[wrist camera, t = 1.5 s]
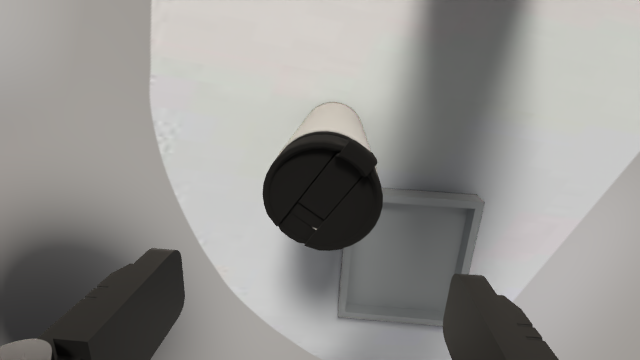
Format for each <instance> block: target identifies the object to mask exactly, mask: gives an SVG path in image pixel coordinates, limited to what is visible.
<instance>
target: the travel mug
mask: <svg viewBox="0 0 640 360" xmlns="http://www.w3.org/2000/svg"><path fill="white" fill-rule="evenodd" d="M376 164H377V159H376V158H375V156H374V155H373V153H372V152H371V150H370V147H369V144H368V141H367V138H366V135H365V132H364V129H363V126H362V123H361V121H360V118H359V117H358V115H357V114H356V112H355V111H354V110H353V109H351V108H350V107H348V106H347V105H344V104H342V103H337V102H328V103H324V104H322V105H319V106H317V107H316V108H315V109H313V110H312V111H311V113H310V114H309V115H308V116H307V117H306V119H305V120H304V121H303V123H302V124H301V125H300V127H299V128H298V129H297V131H296V132H295V133H294V134H293V136H292V137H291V138H290V140H289V141H288V142H287V144H286V145H285V146H284V148H283V149H282V150H281V151H280V153H279V155H278V157H277V158H276V160H275V161H274V162H273V164H272V165H271V167H270V169H269V171H268V172H267V174H266V178H265V181H264V184H263V200H264V206H265V209H266V212H267V214H268V216H269V217H270V218H271V220H272V221H273V222H274V224H275V225H276V226H279V228H280V230H281V231H282V232H283V233H285V234H286V235H287V236H288V237H290V238H291V239H293V240H295V241H297V242H299V243H304V244H305V246H307V247H311V248H314V249H317V250H329V251H330V250H337V249H342V248H346V247H349V246H351V245H353V244H355V243H357V242H359V241H361V240H362V239H363V238H364V237H366V236H367V235H368V234H369V233H370V232H371V230H372V229H373V228H374V227H375V225H376V223H377V221H378V219H379V217H380V215H381V211H382V207H383V193H382V188H381V184H380V181H379V177H378V173H377V168H376Z"/></svg>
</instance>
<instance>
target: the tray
mask: <svg viewBox="0 0 640 360" xmlns="http://www.w3.org/2000/svg"><path fill="white" fill-rule="evenodd" d="M382 193H383V207H382V211H381V215H380V217H379V219H378V221H377V223H376V225H375V227H374V228H373V229H372V230H371V232H370V233H369V234H368V235H367V236H366V237H364V238H363V239H362V240H361V241H359V242H357V243H355V244H353V245H351V246H349V247H346V248H343V256H342V268H341V280H340V292H339V304H338V317H344V318H356V319H367V320H378V321H389V322H400V323H412V324H423V325H434V326H443V317H444V312H445V307H446V302H447V298H448V293H449V288H450V283H451V279H452V276H453V275H454V274H469V270H470V265H471V261H472V257H473V252H474V248H475V243H476V239H477V234H478V230H479V226H480V221H481V217H482V212H483V208H484V203H485V202H484V201H483V200H482V199H481V198H480V197H479V196H478V195H474V194H460V193H446V192H432V191H418V190H404V189H389V188H382Z"/></svg>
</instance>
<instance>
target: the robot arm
mask: <svg viewBox="0 0 640 360" xmlns="http://www.w3.org/2000/svg"><path fill="white" fill-rule="evenodd" d="M184 299H185V292H184V281H183V270H182V259H181V254H180V252H179V251H178V250H167V249H156V248H152V249H149V250H148V251H147V252H146V253H145V254H144V255H143V256H142V257H140V258H139V259H138V260H137V261H136V262H135V263H134V264H129V265H127V266H125V267H123V268H121V269H119V270H117V271H115V272H113V273H111V274H110V275H109V276H108V277H107V278H106V279H105V280H103V281H102V282H101V283H100V284H99V285H98V286H97V288H94V289H93V290H92V291H91V292H90V293H89V294H87V295H86V296H85V299H82V300H80V301H79V303H77V304H76V305H75V306H74V307H72V308H71V309H70V310H69V311H68V312H67V313H66V314H65V315H63V316H62V317H61V318H60V319H59V320H58V321H56V322H55V323H54V324H53V325H52V326H51V327H50V328H48V329H47V330H46V331H45V332H44V333H43V334H42V335H41V336H39V337H38V338H37V339H26V340H20V341H16V342H12V343H9V344H6V345H3V346H1V347H0V360H150V359H151V358H152V356H153V354H154V353H155V351H156V350H157V349H158V347H159V346H160V344H161V343H162V341H163V340H164V338H165V337H166V335H167V334H168V332H169V331H170V329H171V328H172V326H173V325H174V323H175V322H176V320H177V319H178V317H179V315H180V313H181V311H182V308H183V305H184ZM443 333H444V338H445V342H446V345H447V347H448V350H449V353H450V355H451V358H452V360H558V358H557V357H556V356H555V354H554V353H553V351H552V350H551V349H550V347H549V346H548V345H547V343H546V342H545V341H543V340H542V337H541V335H540V334H539V333H538V331H537V330H536V329H535V328H533V327H532V323H531V322H530V321H529V319H528V318H527V317H526V315H525V314H524V313H523V311H522V310H521V309H520V308H519V307H518V306H516V305H515V304H514V303H512V302H511V301H510V300H509V299H507V298H506V297H505V296H502V295H497V294H496V293H495V291H494V290H493V288H492V287H491V285H490V284H489V283H488V281H487V280H486V278H485V277H484V276H481V275H469V274H454V275H453V276H452V279H451V283H450V288H449V293H448V298H447V302H446V307H445V312H444V317H443Z"/></svg>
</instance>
